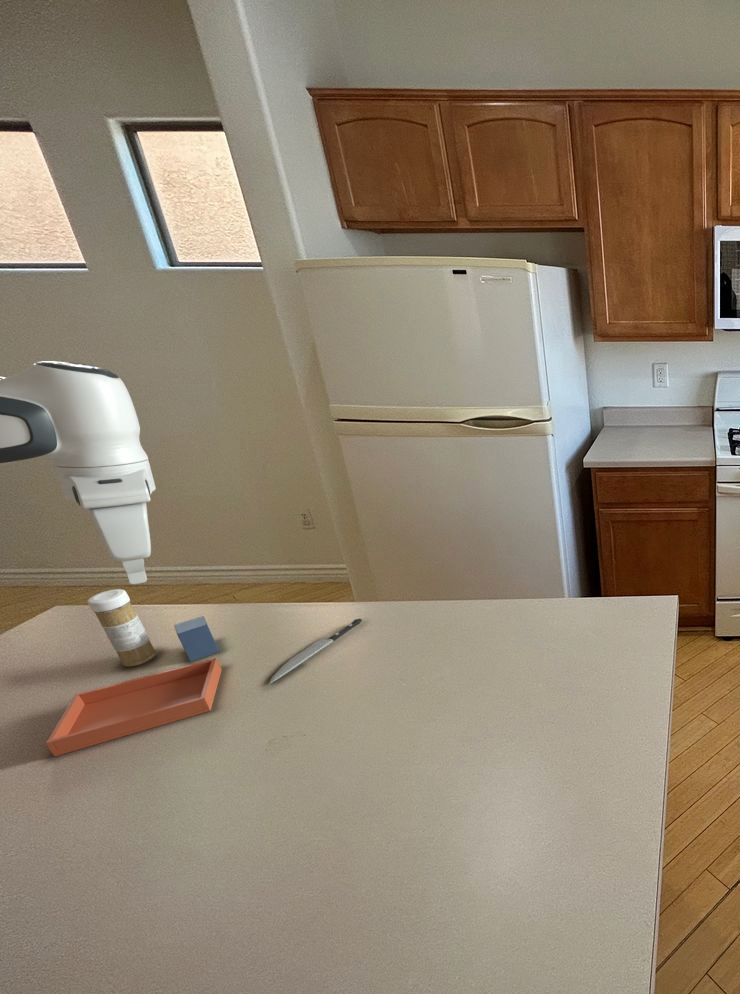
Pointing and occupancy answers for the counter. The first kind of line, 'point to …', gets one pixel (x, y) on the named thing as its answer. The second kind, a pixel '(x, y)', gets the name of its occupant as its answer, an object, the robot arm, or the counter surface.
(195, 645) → the blue block
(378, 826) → the counter surface
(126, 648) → the sprinkles bottle
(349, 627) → the chef's knife
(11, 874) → the counter surface
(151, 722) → the tray
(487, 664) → the counter surface
